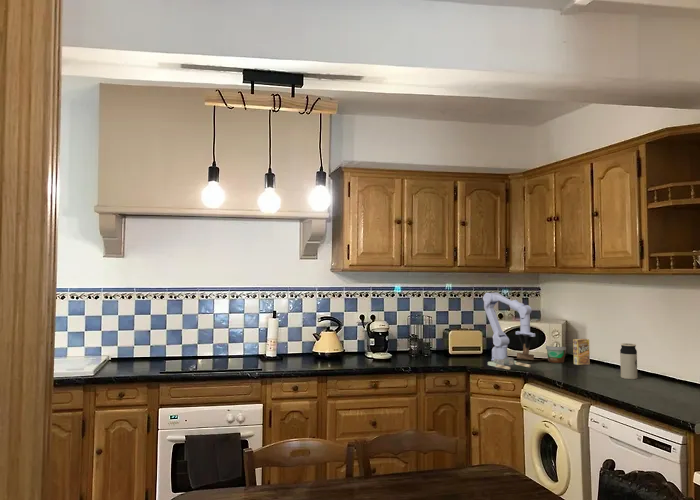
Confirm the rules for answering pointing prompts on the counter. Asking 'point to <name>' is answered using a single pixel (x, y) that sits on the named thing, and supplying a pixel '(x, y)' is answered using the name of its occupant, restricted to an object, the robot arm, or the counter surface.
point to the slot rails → (516, 364)
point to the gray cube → (509, 361)
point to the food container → (556, 354)
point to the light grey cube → (499, 361)
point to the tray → (496, 363)
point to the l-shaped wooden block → (525, 354)
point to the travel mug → (628, 361)
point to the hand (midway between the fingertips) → (525, 347)
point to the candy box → (581, 351)
